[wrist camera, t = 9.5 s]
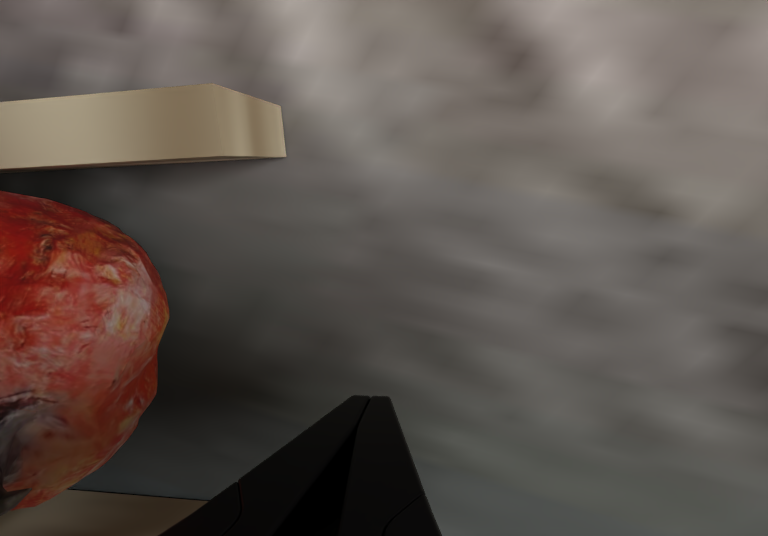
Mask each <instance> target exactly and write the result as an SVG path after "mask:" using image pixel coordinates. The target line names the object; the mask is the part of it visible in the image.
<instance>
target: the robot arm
mask: <svg viewBox="0 0 768 536" xmlns="http://www.w3.org/2000/svg"><path fill="white" fill-rule="evenodd" d="M158 536H442V534H441V532H440V530H439V527H438V525H437V522H436V520H435V518H434V515H433V513H432V510H431V508H430V505H429V502H428V499H427V497H426V496H425V492H424V489H423V486H422V484H421V481H420V478H419V475H418V473H417V470H416V467H415V464H414V462H413V459H412V456H411V454H410V451H409V448H408V445H407V443H406V440H405V437H404V434H403V432H402V429H401V426H400V423H399V421H398V418H397V415H396V412H395V410H394V407H393V404H392V402H391V399H390V397H388V396H372V397H371V398H370V397H369V396H360V395H354V396H351V397H350V398H348V399H347V400H346V401H344V402H343V403H342V404H340V405H339V406H338V407H336V408H335V409H334V410H332V411H331V412H329V413H328V414H327V415H325V416H324V417H323V418H321V419H320V420H319V421H317V422H316V423H315V424H313V425H312V426H311V427H309V428H308V429H306V430H305V431H304V432H302V433H301V434H300V435H298V436H297V437H296V438H294V439H293V440H292V441H290V442H289V443H288V444H286V445H285V446H283V447H282V448H281V449H279V450H278V451H277V452H275V453H274V454H273V455H271V456H270V457H269V458H267V459H266V460H264V461H263V462H262V463H260V464H259V465H258V466H256V467H255V468H254V469H252V470H251V471H250V472H248V473H247V474H246V475H244V476H243V477H241V478H240V479H239V480H238V483H237V482H235V483H233V484H232V485H230V486H229V487H228V488H226V489H225V490H224V491H222V492H221V493H220V494H218V495H217V496H215V497H214V498H213V499H211V500H210V501H208V502H207V503H206V504H204V505H203V506H201V507H200V508H198V509H197V510H196V511H194V512H193V513H191V514H190V515H188V516H187V517H185V518H184V519H182V520H181V521H179V522H178V523H176V524H174V525H173V526H171V527H170V528H168V529H167V530H165V531H164V532H162V533H161V534H159V535H158Z"/></svg>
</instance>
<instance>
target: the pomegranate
mask: <svg viewBox="0 0 768 536" xmlns="http://www.w3.org/2000/svg"><path fill="white" fill-rule="evenodd" d="M168 320H169V307H168V301H167V296H166V293H165V290H164V288H163V286H162V282H161V279H160V276H159V274H158V271H157V270H156V268H155V267H154V265H153V264H152V262H151V261H150V259H149V257H148V255H147V253H146V252H145V250H144V249H143V248H142V247H141V246H140V245H139V244H138V243H137V242H135V241H134V240H133V239H132V238H131V237H129V236H127V235H126V234H124V233H123V232H122V231H121V230H120V229H119V228H117V227H116V226H114V225H113V224H111V223H109V222H108V221H105V220H103V219H101V218H98V217H96V216H93V215H91V214H89V213H87V212H85V211H82V210H79V209H76V208H73V207H70V206H67V205H64V204H61V203H58V202H56V201H52V200H50V199H47V198H38V197H33V196H27V195H22V194H16V193H11V192H5V191H1V190H0V516H2V515H3V514H5V513H7V512H8V511H13V510H17V509H22V508H28V507H35V506H37V505H39V504H41V503H43V502H45V501H47V500H50V499H51V498H53V497H55V496H56V495H58V494H60V493H61V492H63V491H64V490H66V489H67V488H69V487H71V486H72V485H74V484H75V483H77V482H78V481H80V480H81V479H82V478H84V477H85V476H87V475H89V474H91V473H92V472H94V471H96V470H98V469H99V468H100V467H101V466H102V465H104V464H105V463H106V462H107V461H108V460H110V459H111V458H112V456H113V455H114V454H115V453H116V452H117V451H118V449H119V448H120V447H121V446H122V445H123V444H124V443H125V442H126V441H127V440H128V438H129V437H130V436H131V434H132V433H133V431H134V430H135V429H136V427H137V426H138V420H139V418H140V416H141V415H142V414H143V413H144V411H145V410H146V409H147V407H148V406H149V405H150V403H151V402H152V400H153V398H154V397H155V395H156V394H157V385H158V361H157V350H158V345H159V343H160V340H161V338H162V335H163V333H164V330H165V328H166V325H167V323H168Z"/></svg>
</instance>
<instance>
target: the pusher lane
mask: <svg viewBox="0 0 768 536" xmlns="http://www.w3.org/2000/svg"><path fill="white" fill-rule="evenodd" d="M279 157H286V150H285V141H284V132H283V123H282V114H281V106H279V105H276V104H273V103H270V102H267V101H264V100H261V99H258V98H255V97H252V96H249V95H246V94H243V93H240V92H237V91H234V90H231V89H228V88H225V87H222V86H219V85H216V84H213V83H210V84H199V85H188V86H176V87H165V88H154V89H143V90H132V91H120V92H109V93H98V94H87V95H75V96H64V97H53V98H42V99H31V100H19V101H8V102H0V173H16V172H33V171H51V170H68V169H86V168H103V167H121V166H139V165H156V164H174V163H191V162H209V161H226V160H244V159H262V158H279ZM207 502H208V501H198V500H186V499H175V498H163V497H151V496H139V495H127V494H115V493H103V492H91V491H79V490H67V489H66V490H64V491H63V492H61V493H60V494H58V495H56V496H55V497H53V498H51V499H50V500H47V501H45V502H43V503H41V504H39V505H37V506H35V507H28V508H22V509H17V510H13V511H8V512H7V513H5V514H3V515H2V516H0V536H158V535H159V534H161V533H162V532H164V531H165V530H167V529H168V528H170V527H171V526H173V525H174V524H176V523H178V522H179V521H181V520H182V519H184V518H185V517H187V516H188V515H190V514H191V513H193V512H194V511H196V510H197V509H198V508H200V507H201V506H203V505H204V504H206V503H207Z"/></svg>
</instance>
